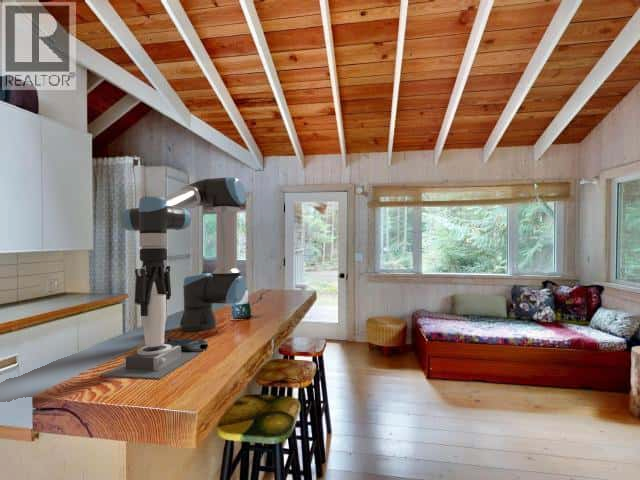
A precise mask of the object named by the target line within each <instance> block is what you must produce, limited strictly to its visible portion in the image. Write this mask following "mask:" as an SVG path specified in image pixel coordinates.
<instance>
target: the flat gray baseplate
mask: <svg viewBox="0 0 640 480" xmlns="http://www.w3.org/2000/svg"><path fill="white" fill-rule="evenodd" d="M199 354H200V355H201V354H202V352H181V346H171V345H169V344H163V345H161V346H158V347H146V346H145V345H144V346H143V347H142V346H141V347H139V348H138V349H137V350H136V352H133V353H131V354H129V355H126V356H125V363H122V364H120V365H118V366H115V367H114V368H112V369H109V370H107V371H105V372H103V373H101V374H100V375H99V376H100V377H108V378H124V377H132V378H131V379H144V378H148V379H147V380H161V379H162V378H164V377H165V376H167V375H169V374H170V373H172V372H174V371H175V370H177V369H179V368H180V367H182V366H183V365H185V364H187V363H188V362H190V361H192V360H193V359H195V358H196V357H198V356H199ZM194 357H195V358H194ZM191 359H192V360H191ZM189 360H190V361H189ZM186 362H187V363H186Z"/></svg>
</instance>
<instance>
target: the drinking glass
mask: <svg viewBox="0 0 640 480" xmlns="http://www.w3.org/2000/svg"><path fill="white" fill-rule="evenodd" d="M149 304H151V327H143V335H144V347H145V346H146V347H158V346H161V345H163V344H164V341H165V332H166V331H165V330H166V321H165V320H166V313H167V309H166V295H165V294H158V293H155V294H152V293H151V296H150V301H149Z"/></svg>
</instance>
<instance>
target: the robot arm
mask: <svg viewBox="0 0 640 480" xmlns="http://www.w3.org/2000/svg"><path fill="white" fill-rule="evenodd" d="M246 197H247V194H246V188H245V187H244V184H243V182H242V181H241V179H239V178H237V177H235V176H234V177H233V176H231V177H230V176H226V177H216V178H204V179H201V180H196V181H195V182H194V181H193V182H192V183H190V184H188V185H184V186H182V187H181V188H180V190H179V191H176V192H174V193H172V194H169V195H166V196H165V197H163V196H156V195H144V196H142V197H140V198H139V203H138V207H131V208H125V209H124V210H122V212H121V213H120V216H119V222H120V225H121V227H122V228H123V229H124V230H127V231H134V232H138V233H139V247H140V249H139V261H141V262H142V265H141V267H140V268H135V270H134V273H135V290H134V304H136V305H138V306H140V317H141V318H140V321H141V323H140V324H141V327H142V328H144V327H151V304H149V301H150V296H151V295H152V290H153V285H155V288H156V294H165V295H166V310H167V307H168V305H167V300H171V297H172V288H171V287H172V285H171V275H170V274H171V266H170V265H165V262H164V261H166V260H167V259H168V249H167V248H166V247H167V246H168V235H167V233H168V232H167V230H175V231H180V230H181V231H182V230H185V229H188V227H189V226H190V224H191V222H192V217H191V213H190V212H189V211H188V209H194V208H197V207H202V206H212V209H213V210H214V211H215V214H216V215H215V216H216V223H215V224H216V230H215V231H216V234H215V235H216V236H215V237H216V240H215V242H216V249H215V250H216V268H215V270H213V272H212V273H211V272H208V273H199V274H192V275H187V276H185V277H184V278H183V286H182V287H183V313H182V316H181V318H180V322H179V330H180V329H181V331H182V330H188V331H187V332H200V331H201V332H202V331H208V330H211V329H214V328H216V327H217V323H218V322H217V318H216V316H215V313H214V310H213V304H215V305H216V304H217V305H218V304H220V305H221V304H223V305H234V304H235V305H236V304H239V303H240V302H241V301H242V300H243V299H244V297H245V293H246V292H247V291H246V289H247V281H246V278H245V277H244V276H242V273H241V270H240V269H239V268H238V212H239V211H241V210H242V209H241V208H242V207H241V206H242V205H244V204H245V202H246V200H247V198H246ZM167 321H168V317H167V312H166V320H165V322H167Z"/></svg>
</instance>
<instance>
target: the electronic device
mask: <svg viewBox="0 0 640 480" xmlns="http://www.w3.org/2000/svg"><path fill="white" fill-rule="evenodd" d="M164 344H169V345H171V346H181V351H182V352H198V353H201V352H204V351H205V350H206V349H208V347H209V343H208V342H207V341H206V340H203V339H196V338H195V339H193V338H178V337H173V338H171V337H169V338H167V339H166V340H164ZM203 346H205V347H204V349H202V348H201V347H203Z"/></svg>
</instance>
